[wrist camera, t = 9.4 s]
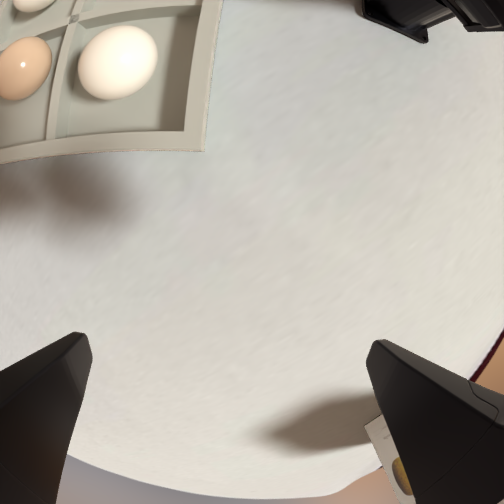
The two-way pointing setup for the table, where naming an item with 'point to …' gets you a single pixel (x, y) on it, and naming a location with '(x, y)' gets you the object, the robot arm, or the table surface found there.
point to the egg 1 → (31, 5)
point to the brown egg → (24, 67)
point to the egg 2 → (118, 62)
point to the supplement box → (390, 459)
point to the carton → (112, 111)
